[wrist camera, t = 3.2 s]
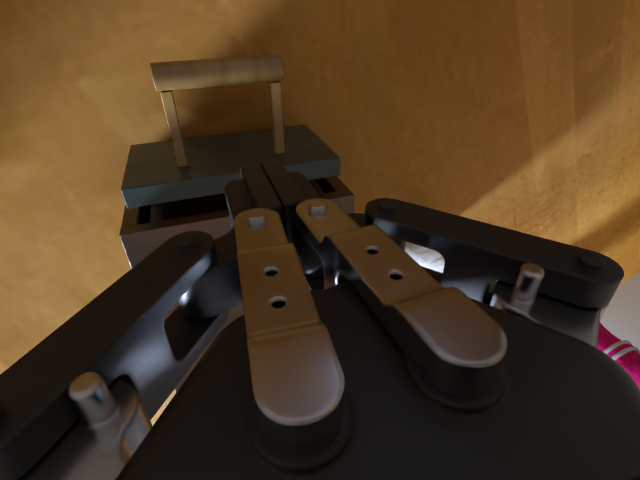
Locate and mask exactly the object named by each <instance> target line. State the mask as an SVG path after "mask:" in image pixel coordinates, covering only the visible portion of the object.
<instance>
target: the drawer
mask: <svg viewBox="0 0 640 480" xmlns="http://www.w3.org/2000/svg"><path fill="white" fill-rule="evenodd" d="M150 70H151V75H152V79H153V83H154V87H155V90H156V91H158V92H159V91H161V92H160V94H161V98H162V102H163V106H164V111H165V115H166V119H167V123H168V128H169V132H170V136H171V140H172V141H164V142H155V143H147V144H138V145H131V148H130V152H129V156H128V161H127V165H126V169H125V174H124V178H123V183H122V187H121V192H122V195H123V198H124V201H125V204H126V207H127V208H134V207H141V206H147V205H151V213H150V222H156V221H162V220H168V219H174V218H180V217H186V216H192V215H198V214H204V213H210V212H216V211H222V210H228V207H227V201H226V195H225V190H224V188H225V186H226V184H227V183H228V181H234V180H241V174H240V166H247V165H254V164H260V165H261V163H268V162H276V161H281V162H282V164H283V165H284V167H285V168H286V170H287V172H295V171H296V172H298V173H300V174H302V175H304V176H306V178H307V179H308V180H309V182H310V183H311V184H312V186H313V188H315V190H316V191H317V193H318V194H324V192H323V190H322V189H321V188H320V187H319V185H318V184H317V183H316V181H315V180H314V179H321V178H327V177H333V176H339V175H340V158H339V157H338V156H337V155H336V154H335V153H334V152H333V151H332V150H331V149H330V148H329V147H328V146H327V145H326V144H325V143H324V142H323V141H322V140H321V139H320V138H319V137H318V136H317V135H316V134H315V133H314V132H313V131H312V130H311V129H310V128H309V127H307V126H306V125H300V126H292V127H283V114H282V100H281V86H280V82H279V81H283V79H284V63H283V59H282V56H281V55H279V54H278V55H263V56H248V57H233V58H218V59H203V60H188V61H173V62H158V63H150ZM264 82H269V94H270V106H271V117H272V129H266V130H258V131H249V132H241V133H232V134H224V135H215V136H206V137H198V138H189V139H183V138H182V134H181V129H180V125H179V120H178V115H177V111H176V106H175V102H174V97H173V93H172V90H182V89H194V88H206V87H217V86H229V85H241V84H253V83H264Z"/></svg>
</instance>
